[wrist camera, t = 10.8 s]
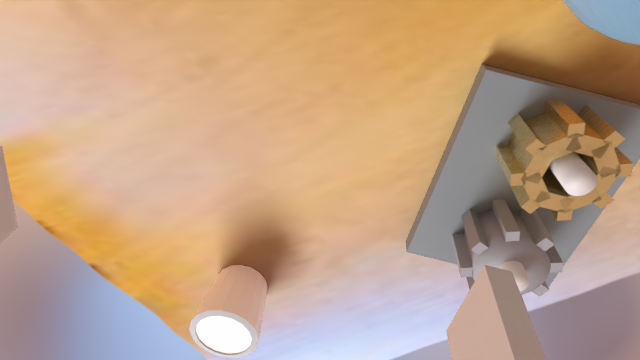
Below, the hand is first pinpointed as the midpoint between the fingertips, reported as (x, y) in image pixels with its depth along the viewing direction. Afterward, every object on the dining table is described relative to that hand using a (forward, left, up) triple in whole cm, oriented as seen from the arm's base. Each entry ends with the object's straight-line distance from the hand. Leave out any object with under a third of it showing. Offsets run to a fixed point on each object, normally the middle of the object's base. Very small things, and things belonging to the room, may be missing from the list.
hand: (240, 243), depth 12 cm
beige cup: (+28, -3, -25) cm, 38 cm away
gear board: (+8, +19, -25) cm, 32 cm away
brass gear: (+4, +19, -23) cm, 30 cm away
